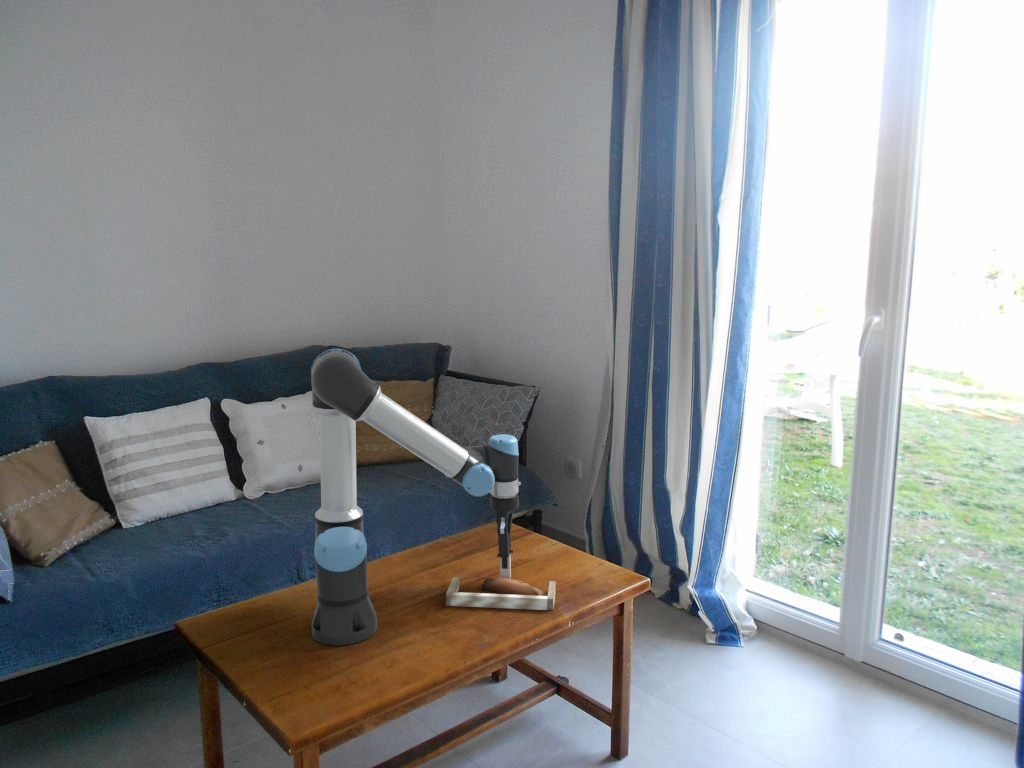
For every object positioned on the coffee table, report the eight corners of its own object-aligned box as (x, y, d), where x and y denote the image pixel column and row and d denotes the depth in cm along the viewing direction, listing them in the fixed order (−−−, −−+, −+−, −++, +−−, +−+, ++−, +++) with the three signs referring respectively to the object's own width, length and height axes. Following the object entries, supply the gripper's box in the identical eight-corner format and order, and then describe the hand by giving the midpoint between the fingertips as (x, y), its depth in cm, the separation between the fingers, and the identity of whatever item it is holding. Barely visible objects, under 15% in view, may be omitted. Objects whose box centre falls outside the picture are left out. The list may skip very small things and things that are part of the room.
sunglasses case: (556, 596, 194) (549, 580, 190) (543, 618, 190) (536, 602, 186) (499, 579, 204) (491, 564, 200) (486, 600, 200) (478, 585, 196)
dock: (446, 605, 188) (445, 594, 188) (453, 587, 198) (453, 577, 198) (553, 610, 185) (553, 599, 185) (555, 592, 195) (555, 581, 195)
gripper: (516, 502, 189) (517, 589, 193) (520, 485, 201) (521, 567, 206) (486, 502, 190) (488, 588, 194) (493, 485, 202) (494, 566, 207)
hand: (505, 577), depth 200 cm, fingers closed
